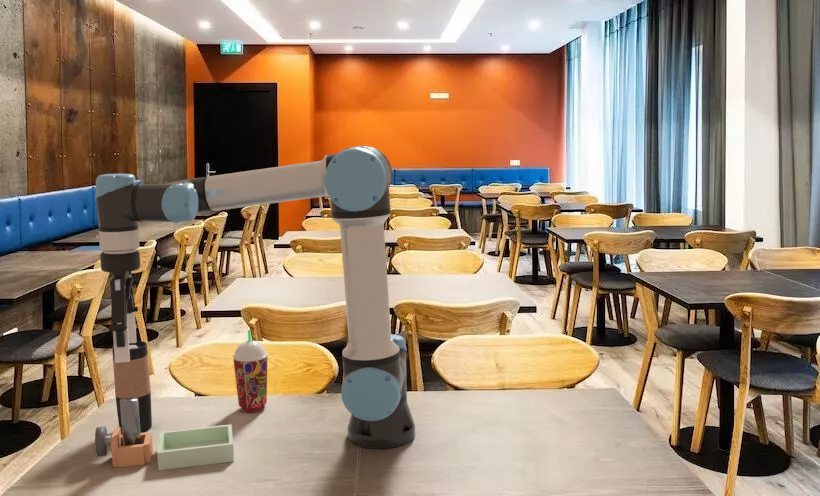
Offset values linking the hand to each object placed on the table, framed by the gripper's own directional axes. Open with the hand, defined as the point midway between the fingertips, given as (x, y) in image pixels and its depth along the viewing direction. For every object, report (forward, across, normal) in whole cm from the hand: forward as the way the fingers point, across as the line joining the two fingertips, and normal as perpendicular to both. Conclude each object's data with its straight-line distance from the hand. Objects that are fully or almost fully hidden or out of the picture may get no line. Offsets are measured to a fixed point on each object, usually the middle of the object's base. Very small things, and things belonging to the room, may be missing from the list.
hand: (126, 352), depth 157 cm
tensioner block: (+23, 0, -1) cm, 23 cm away
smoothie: (+23, -22, +26) cm, 41 cm away
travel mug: (+23, -17, -1) cm, 29 cm away
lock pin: (+23, 0, 0) cm, 23 cm away
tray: (+23, +2, +13) cm, 27 cm away
